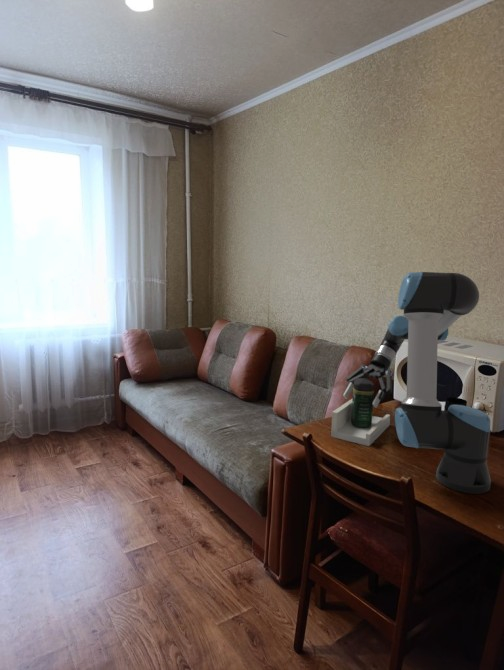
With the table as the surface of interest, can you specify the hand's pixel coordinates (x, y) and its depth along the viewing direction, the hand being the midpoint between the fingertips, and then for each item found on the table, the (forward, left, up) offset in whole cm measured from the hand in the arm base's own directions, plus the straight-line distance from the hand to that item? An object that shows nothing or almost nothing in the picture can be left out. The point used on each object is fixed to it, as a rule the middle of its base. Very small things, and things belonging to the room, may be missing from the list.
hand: (359, 401), depth 170 cm
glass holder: (+16, -35, -13) cm, 41 cm away
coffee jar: (+2, -1, -10) cm, 11 cm away
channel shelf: (+2, -1, -13) cm, 13 cm away
